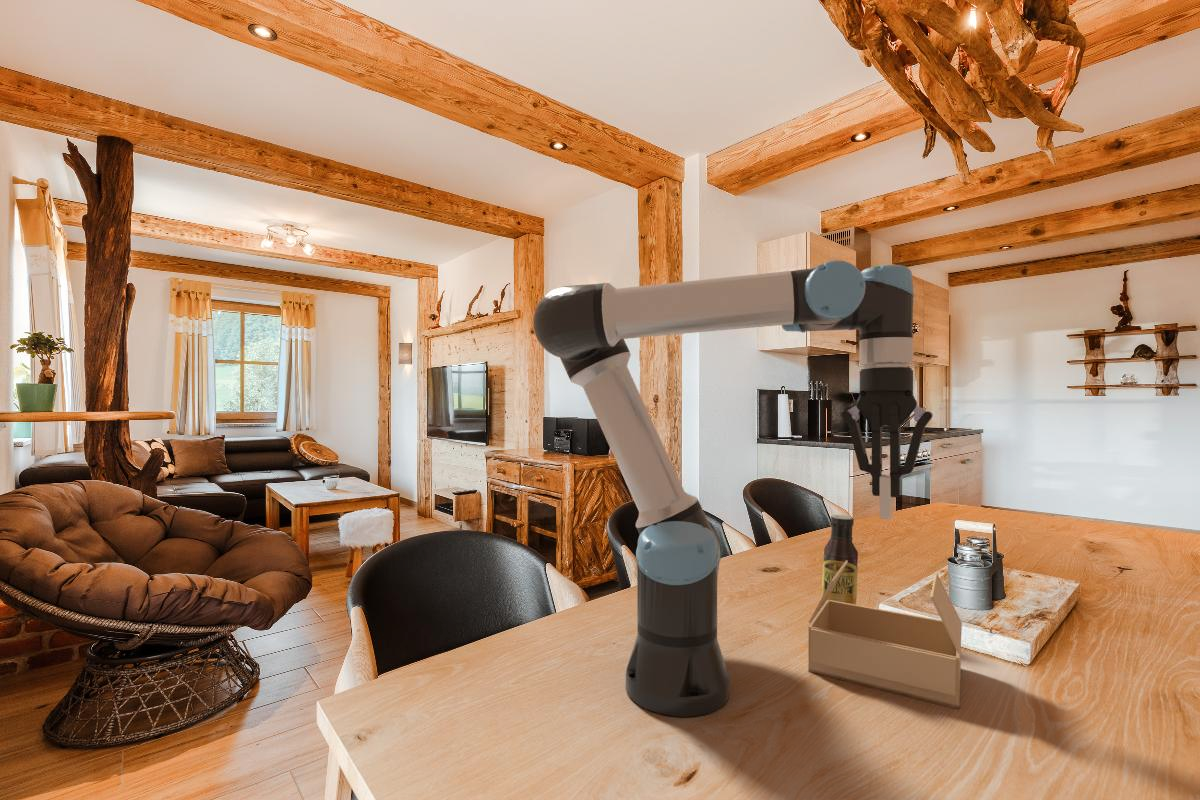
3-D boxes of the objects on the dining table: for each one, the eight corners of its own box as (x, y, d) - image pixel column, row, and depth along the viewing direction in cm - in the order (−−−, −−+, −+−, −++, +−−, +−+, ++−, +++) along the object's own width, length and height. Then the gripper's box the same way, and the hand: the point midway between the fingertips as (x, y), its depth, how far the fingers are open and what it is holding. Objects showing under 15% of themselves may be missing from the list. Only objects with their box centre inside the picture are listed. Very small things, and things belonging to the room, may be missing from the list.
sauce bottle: (819, 621, 110) (819, 517, 110) (823, 610, 115) (823, 511, 115) (856, 628, 107) (856, 521, 107) (858, 616, 112) (859, 514, 112)
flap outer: (960, 653, 80) (932, 596, 81) (958, 653, 80) (930, 597, 82) (961, 622, 90) (937, 573, 92) (959, 623, 90) (935, 573, 92)
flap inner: (810, 623, 90) (833, 581, 89) (808, 622, 91) (831, 580, 89) (827, 599, 101) (848, 561, 99) (825, 598, 101) (846, 560, 99)
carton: (959, 710, 79) (959, 659, 79) (807, 672, 90) (807, 627, 90) (960, 667, 91) (960, 623, 91) (827, 638, 102) (827, 599, 102)
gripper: (935, 366, 90) (935, 517, 90) (845, 369, 97) (845, 509, 97) (932, 364, 83) (932, 527, 84) (836, 367, 90) (837, 517, 91)
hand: (886, 517), depth 90 cm, fingers closed
